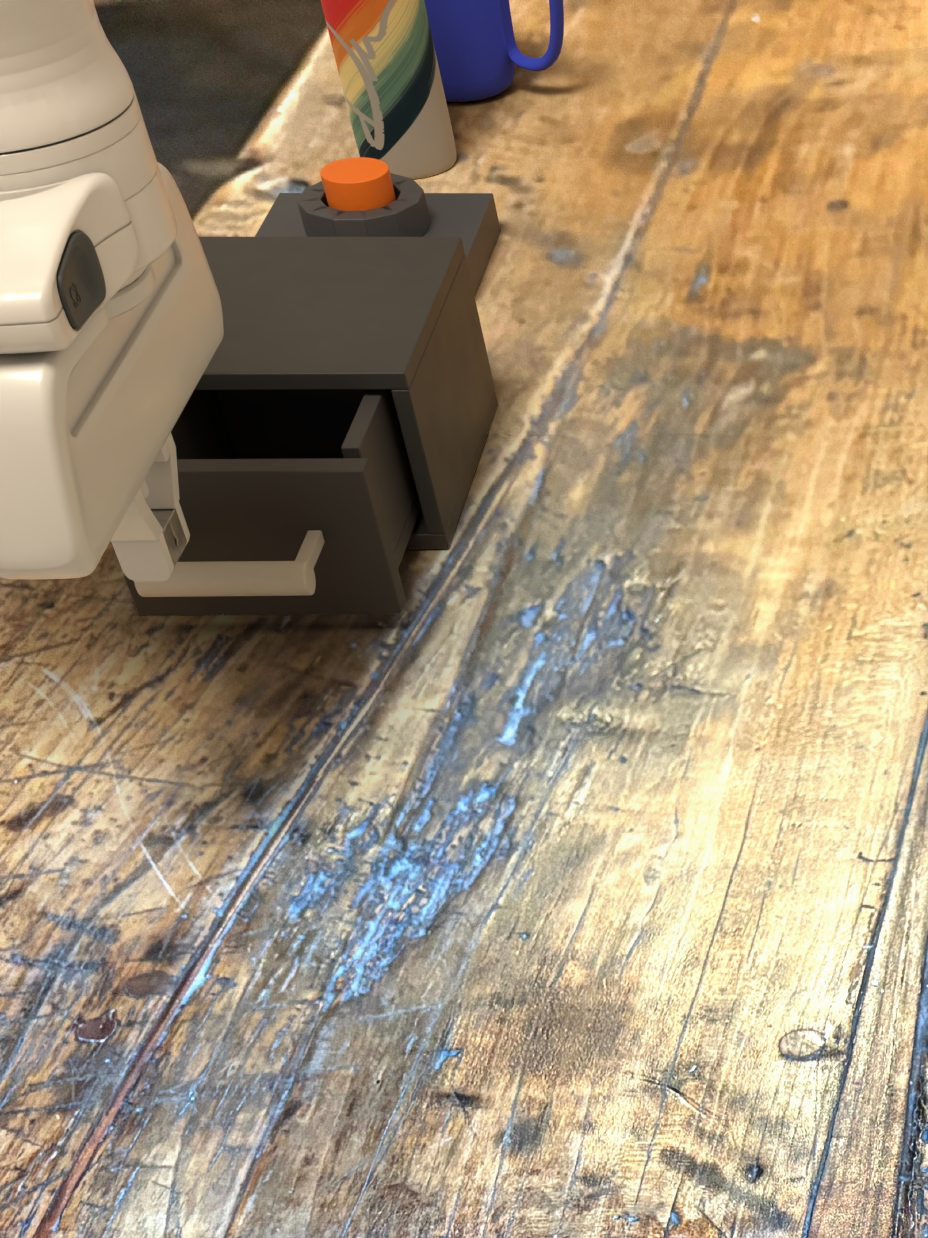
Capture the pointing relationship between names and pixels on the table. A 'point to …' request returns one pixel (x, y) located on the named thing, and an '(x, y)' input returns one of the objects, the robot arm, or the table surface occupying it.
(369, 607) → the drawer
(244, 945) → the table surface
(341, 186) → the button
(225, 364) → the cabinet
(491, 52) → the mug
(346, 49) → the lotion bottle
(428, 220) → the button block
